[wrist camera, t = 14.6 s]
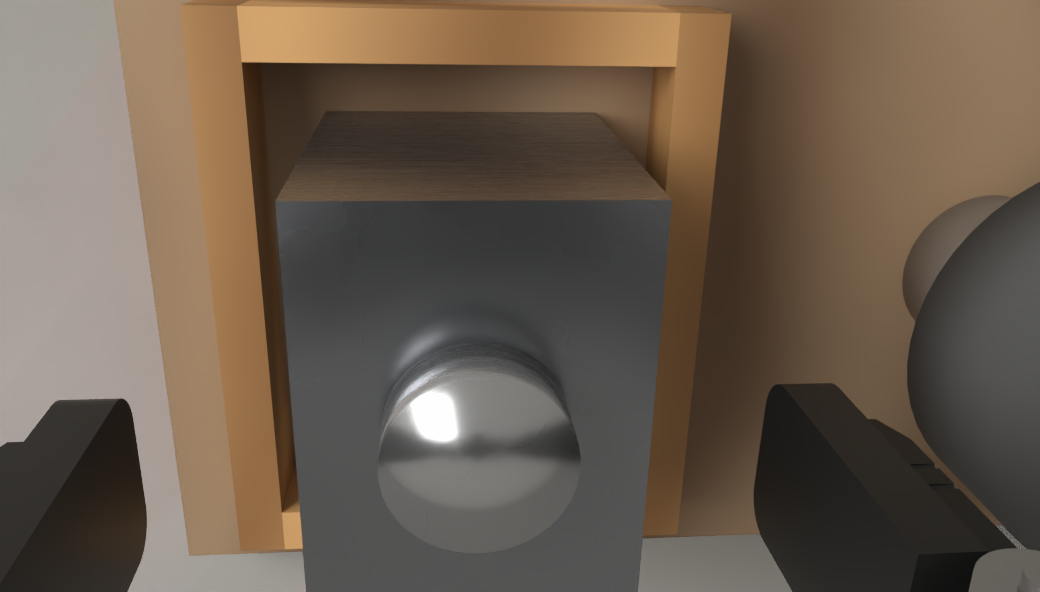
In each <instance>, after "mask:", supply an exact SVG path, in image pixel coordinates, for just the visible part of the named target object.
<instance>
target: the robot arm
mask: <svg viewBox="0 0 1040 592" xmlns="http://www.w3.org/2000/svg"><path fill="white" fill-rule="evenodd" d="M753 498H754V512H755V518H756V522H757V526H758V529H759V532H760V535H761V537H762V539H763V540H764V542H765V544H766V546H767V547H768V549H769V551H770V553H771V554H772V556H773V558H774V560H775V562H776V563H777V565H778V567H779V569H780V570H781V572H782V574H783V576H784V577H785V579H786V581H787V583H788V584H789V586H790V588H791V590H792V591H793V592H1040V551H1036V550H1031V549H1020V548H1016V546H1015V545H1014V544H1013V543H1012V542H1011V541H1010V540H1009V539H1008V538H1007V537H1006V536H1005V535H1004V534H1003V533H1002V532H1001V531H1000V530H999V529H998V528H997V527H996V526H995V525H994V524H993V523H992V522H991V521H990V520H989V519H988V518H987V517H986V516H985V515H984V514H983V513H982V512H981V510H980V509H979V508H978V507H977V506H976V505H975V504H974V503H973V502H972V501H971V500H970V499H969V498H968V497H967V496H966V495H965V494H964V493H963V492H962V491H961V490H960V489H955V488H954V483H953V482H952V481H951V480H950V479H949V478H948V477H947V476H946V475H945V473H944V472H943V471H942V470H941V469H940V468H935V463H934V462H933V461H932V460H931V459H930V458H929V457H928V456H927V455H926V454H925V453H924V452H923V451H922V450H921V449H920V448H919V447H918V446H917V445H916V444H915V443H914V442H913V441H912V440H911V439H910V438H908V437H906V436H905V435H903V434H901V433H899V432H898V431H896V430H894V429H892V428H891V427H889V426H887V425H885V424H884V423H882V422H880V421H878V420H877V419H867V418H866V416H865V415H864V414H863V413H862V412H861V411H860V410H859V409H858V408H857V407H856V406H855V405H854V403H853V402H852V401H851V400H850V399H849V398H848V397H847V396H846V395H845V394H844V393H843V392H842V390H841V389H840V388H839V387H838V386H837V385H835V384H833V383H807V384H776V385H774V386H773V387H772V388H771V390H770V391H769V394H768V397H767V400H766V406H765V413H764V420H763V427H762V434H761V441H760V448H759V455H758V462H757V469H756V476H755V483H754V495H753ZM146 528H147V515H146V504H145V497H144V491H143V484H142V477H141V470H140V463H139V456H138V450H137V443H136V436H135V429H134V422H133V417H132V412H131V409H130V406H129V404H128V403H127V401H126V400H124V399H89V400H59V401H56V402H55V403H54V404H53V405H52V406H51V407H50V408H49V410H48V411H47V412H46V414H45V415H44V416H43V418H42V419H41V420H40V421H39V423H38V424H37V425H36V427H35V428H34V429H33V431H32V432H31V433H30V434H29V436H28V437H27V438H26V440H25V441H24V442H7V443H6V444H4V445H3V446H1V447H0V592H127V591H128V589H129V587H130V584H131V582H132V580H133V577H134V575H135V573H136V571H137V568H138V566H139V564H140V561H141V558H142V555H143V551H144V546H145V540H146Z"/></svg>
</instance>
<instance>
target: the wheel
mask: <svg viewBox="0 0 1040 592" xmlns="http://www.w3.org/2000/svg"><path fill="white" fill-rule="evenodd" d="M907 387H908V393H909V399H910V406H911V409H912V412H913V415H914V418H915V421H916V424H917V426H918V428H919V430H920V432H921V434H922V436H923V438H924V439H925V441H926V443H927V444H928V445H929V447H930V448H931V449H932V450H933V452H934V453H935V454H936V456H937V457H938V458H939V459H940V460H941V461H942V462H943V463H944V464H945V465H946V466H947V467H948V468H949V469H950V470H951V472H952V473H953V474H954V475H955V476H956V477H957V478H958V479H959V480H960V481H961V482H962V483H963V484H964V485H965V486H966V487H967V488H968V489H969V490H970V491H971V492H972V493H973V495H974V496H975V497H976V498H977V499H978V500H979V501H980V502H981V503H982V504H983V505H984V506H985V507H986V508H987V509H988V510H989V511H990V512H991V513H992V514H993V515H994V516H995V518H996V519H997V520H998V521H999V522H1000V523H1001V524H1002V525H1003V526H1004V527H1005V528H1006V529H1007V530H1008V531H1009V532H1010V533H1011V534H1012V535H1013V536H1014V537H1015V538H1016V539H1017V540H1018V541H1019V542H1020V543H1021V544H1022V545H1023V546H1024V547H1025V548H1027V549H1031V550H1036V551H1040V182H1038V183H1036V184H1035V185H1033V186H1031V187H1030V188H1028V189H1026V190H1025V191H1023V192H1021V193H1019V194H1018V195H1016V196H1014V197H1013V198H1012V199H1010V200H1009V201H1008V202H1006V203H1005V204H1004V205H1002V206H1001V207H1000V208H998V209H997V210H996V211H994V212H993V213H992V214H990V215H989V216H988V217H987V218H986V219H985V220H984V221H983V222H982V223H981V224H980V225H978V226H977V227H976V228H975V229H974V230H973V231H972V232H971V233H970V234H969V235H968V236H967V238H966V239H965V240H964V241H963V242H962V243H961V244H960V246H959V247H958V248H957V249H956V250H955V251H954V252H953V254H952V255H951V256H950V258H949V259H948V261H947V262H946V264H945V265H944V266H943V268H942V269H941V271H940V272H939V274H938V275H937V277H936V279H935V281H934V282H933V284H932V286H931V288H930V290H929V291H928V293H927V295H926V297H925V299H924V302H923V304H922V307H921V309H920V312H919V314H918V316H917V319H916V322H915V326H914V330H913V333H912V337H911V341H910V347H909V354H908V362H907Z"/></svg>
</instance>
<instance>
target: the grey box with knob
mask: <svg viewBox="0 0 1040 592" xmlns="http://www.w3.org/2000/svg"><path fill="white" fill-rule="evenodd" d="M275 206H276V218H277V231H278V243H279V256H280V269H281V281H282V294H283V306H284V319H285V331H286V344H287V356H288V369H289V381H290V394H291V406H292V419H293V431H294V444H295V456H296V469H297V481H298V494H299V506H300V519H301V531H302V544H303V557H304V569H305V582H306V592H638V582H639V571H640V560H641V548H642V537H643V525H644V514H645V503H646V491H647V480H648V469H649V457H650V446H651V435H652V423H653V412H654V401H655V389H656V378H657V366H658V355H659V344H660V332H661V321H662V310H663V298H664V287H665V276H666V264H667V253H668V241H669V230H670V219H671V207H672V199H671V198H670V197H669V196H668V195H667V194H666V193H665V191H664V190H663V189H662V188H661V187H660V186H659V185H658V183H657V182H656V181H655V180H654V179H653V178H652V177H651V176H650V174H649V173H648V172H647V171H646V170H645V169H644V168H643V167H642V165H641V164H640V163H639V162H638V161H637V160H636V159H635V157H634V156H633V155H632V154H631V153H630V152H629V151H628V150H627V148H626V147H625V146H624V145H623V144H622V143H621V142H620V140H619V139H618V138H617V137H616V136H615V135H614V134H613V133H612V131H611V130H610V129H609V128H608V127H607V126H606V125H605V123H604V122H603V121H602V120H601V119H600V118H599V117H598V116H597V114H596V113H595V112H437V111H326V112H325V114H324V115H323V117H322V119H321V121H320V122H319V124H318V126H317V128H316V130H315V131H314V133H313V135H312V137H311V138H310V140H309V142H308V144H307V146H306V147H305V149H304V151H303V153H302V154H301V156H300V158H299V160H298V162H297V163H296V165H295V167H294V169H293V170H292V172H291V174H290V176H289V178H288V179H287V181H286V183H285V185H284V186H283V188H282V190H281V192H280V194H279V195H278V197H277V199H276V201H275Z"/></svg>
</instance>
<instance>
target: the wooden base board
mask: <svg viewBox="0 0 1040 592" xmlns="http://www.w3.org/2000/svg"><path fill="white" fill-rule="evenodd" d="M114 7H115V15H116V22H117V29H118V37H119V44H120V51H121V58H122V66H123V73H124V80H125V88H126V95H127V102H128V110H129V117H130V124H131V132H132V139H133V146H134V154H135V161H136V168H137V175H138V183H139V190H140V197H141V205H142V212H143V219H144V227H145V234H146V241H147V249H148V256H149V263H150V270H151V278H152V285H153V292H154V300H155V307H156V314H157V322H158V329H159V336H160V344H161V351H162V358H163V366H164V373H165V380H166V387H167V395H168V402H169V409H170V417H171V424H172V431H173V439H174V446H175V453H176V461H177V468H178V475H179V482H180V490H181V497H182V504H183V512H184V519H185V526H186V534H187V541H188V548H189V556H193V555H219V554H245V553H271V552H298V551H303V544H302V531H301V519H300V506H299V494H298V481H297V469H296V456H295V444H294V431H293V419H292V406H291V394H290V381H289V369H288V356H287V344H286V331H285V319H284V306H283V294H282V281H281V269H280V256H279V243H278V231H277V218H276V206H275V201H276V199H277V197H278V195H279V194H280V192H281V190H282V188H283V186H284V185H285V183H286V181H287V179H288V178H289V176H290V174H291V172H292V170H293V169H294V167H295V165H296V163H297V162H298V160H299V158H300V156H301V154H302V153H303V151H304V149H305V147H306V146H307V144H308V142H309V140H310V138H311V137H312V135H313V133H314V131H315V130H316V128H317V126H318V124H319V122H320V121H321V119H322V117H323V115H324V114H325V112H326V111H437V112H595V113H596V114H597V116H598V117H599V118H600V119H601V120H602V121H603V122H604V123H605V125H606V126H607V127H608V128H609V129H610V130H611V131H612V133H613V134H614V135H615V136H616V137H617V138H618V139H619V140H620V142H621V143H622V144H623V145H624V146H625V147H626V148H627V150H628V151H629V152H630V153H631V154H632V155H633V156H634V157H635V159H636V160H637V161H638V162H639V163H640V164H641V165H642V167H643V168H644V169H645V170H646V171H647V172H648V173H649V174H650V176H651V177H652V178H653V179H654V180H655V181H656V182H657V183H658V185H659V186H660V187H661V188H662V189H663V190H664V191H665V193H666V194H667V195H668V196H669V197H670V198H671V199H672V207H671V219H670V230H669V241H668V253H667V264H666V276H665V287H664V298H663V310H662V321H661V332H660V344H659V355H658V366H657V378H656V389H655V401H654V412H653V423H652V435H651V446H650V457H649V469H648V480H647V491H646V503H645V514H644V525H643V537H642V538H664V537H690V536H716V535H742V534H760V532H759V529H758V526H757V522H756V518H755V512H754V498H753V495H754V483H755V476H756V469H757V462H758V455H759V448H760V441H761V434H762V427H763V420H764V413H765V406H766V400H767V397H768V394H769V391H770V390H771V388H772V387H773V386H774V385H776V384H807V383H833V384H835V385H837V386H838V387H839V388H840V389H841V390H842V392H843V393H844V394H845V395H846V396H847V397H848V398H849V399H850V400H851V401H852V402H853V403H854V405H855V406H856V407H857V408H858V409H859V410H860V411H861V412H862V413H863V414H864V415H865V416H866V418H867V419H877V420H878V421H880V422H882V423H884V424H885V425H887V426H889V427H891V428H892V429H894V430H896V431H898V432H899V433H901V434H903V435H905V436H906V437H908V438H910V439H911V440H912V441H913V442H914V443H915V444H916V445H917V446H918V447H919V448H920V449H921V450H922V451H923V452H924V453H925V454H926V455H927V456H928V457H929V458H930V459H931V460H932V461H933V462H934V463H935V468H940V469H941V470H942V471H943V472H944V473H945V475H946V476H947V477H948V478H949V479H950V480H951V481H952V482H953V483H954V488H955V489H960V490H961V491H962V492H963V493H964V494H965V495H966V496H967V497H968V498H969V499H970V500H971V501H972V502H973V503H974V504H975V505H976V506H977V507H978V508H979V509H980V510H981V512H982V513H983V514H984V515H985V516H986V517H987V518H988V519H989V520H990V521H991V522H992V523H993V524H994V525H1002V524H1001V523H1000V522H999V521H998V520H997V519H996V518H995V516H994V515H993V514H992V513H991V512H990V511H989V510H988V509H987V508H986V507H985V506H984V505H983V504H982V503H981V502H980V501H979V500H978V499H977V498H976V497H975V496H974V495H973V493H972V492H971V491H970V490H969V489H968V488H967V487H966V486H965V485H964V484H963V483H962V482H961V481H960V480H959V479H958V478H957V477H956V476H955V475H954V474H953V473H952V472H951V470H950V469H949V468H948V467H947V466H946V465H945V464H944V463H943V462H942V461H941V460H940V459H939V458H938V457H937V456H936V454H935V453H934V452H933V450H932V449H931V448H930V447H929V445H928V444H927V443H926V441H925V439H924V438H923V436H922V434H921V432H920V430H919V428H918V426H917V424H916V421H915V418H914V415H913V412H912V409H911V406H910V399H909V393H908V387H907V362H908V354H909V347H910V341H911V337H912V333H913V330H914V326H915V322H916V319H917V316H918V314H919V312H920V309H921V307H922V304H923V302H924V299H925V297H926V295H927V293H928V291H929V290H930V288H931V286H932V284H933V282H934V281H935V279H936V277H937V275H938V274H939V272H940V271H941V269H942V268H943V266H944V265H945V264H946V262H947V261H948V259H949V258H950V256H951V255H952V254H953V252H954V251H955V250H956V249H957V248H958V247H959V246H960V244H961V243H962V242H963V241H964V240H965V239H966V238H967V236H968V235H969V234H970V233H971V232H972V231H973V230H974V229H975V228H976V227H977V226H978V225H980V224H981V223H982V222H983V221H984V220H985V219H986V218H987V217H988V216H989V215H990V214H992V213H993V212H994V211H996V210H997V209H998V208H1000V207H1001V206H1002V205H1004V204H1005V203H1006V202H1008V201H1009V200H1010V199H1012V198H1013V197H1014V196H1016V195H1018V194H1019V193H1021V192H1023V191H1025V190H1026V189H1028V188H1030V187H1031V186H1033V185H1035V184H1036V183H1038V182H1040V0H114Z"/></svg>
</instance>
